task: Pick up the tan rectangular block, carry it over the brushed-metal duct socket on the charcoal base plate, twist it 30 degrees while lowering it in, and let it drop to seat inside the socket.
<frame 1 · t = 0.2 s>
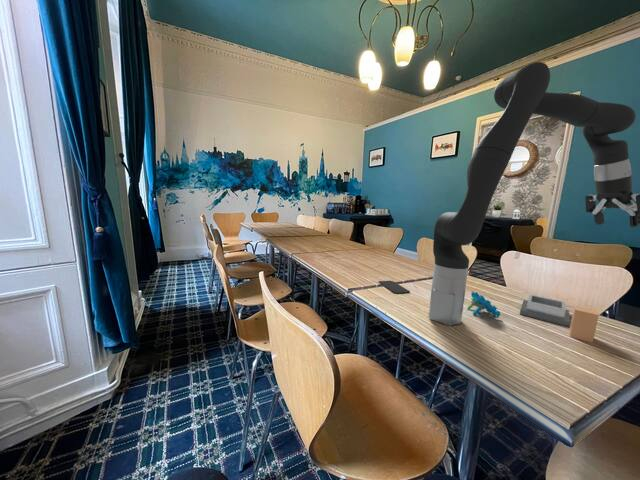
hand: (616, 225, 81), 31 cm above the table, tool tilted 20°, fingers open, 8 cm apart
blue toy figure: (482, 314, 83), on the table
duct socket: (543, 314, 85), on the table
phone: (393, 288, 107), on the table
tan rectangular block: (580, 336, 71), on the table
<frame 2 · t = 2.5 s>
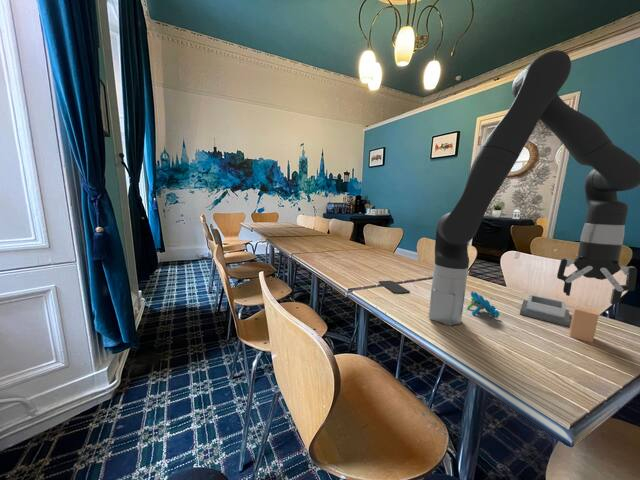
hand: (589, 299, 69), 11 cm above the table, tool pointing down, fingers open, 8 cm apart
nothing on the table moved.
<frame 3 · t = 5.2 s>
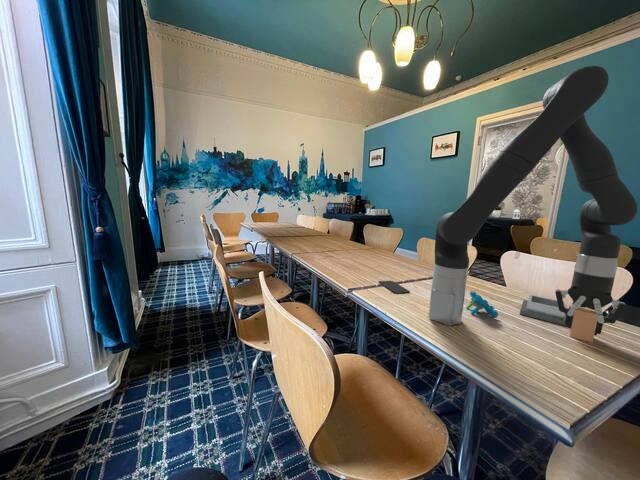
hand: (581, 330, 71), 2 cm above the table, tool pointing down, fingers closed on tan rectangular block, 4 cm apart
tan rectangular block: (580, 336, 71), on the table, touching gripper
everything else where it was.
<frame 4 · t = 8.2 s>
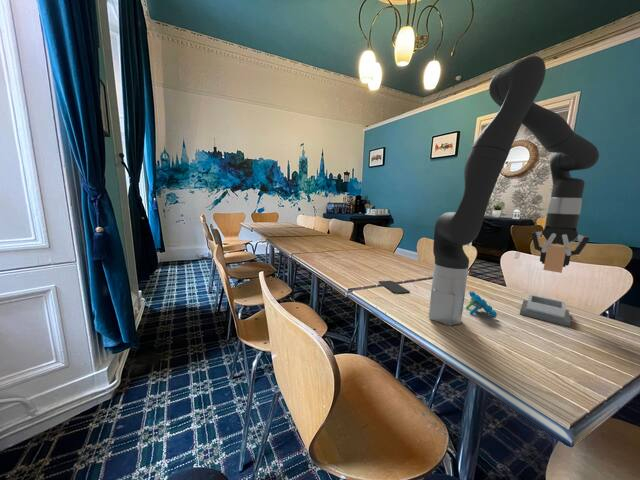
hand: (553, 264, 82), 17 cm above the table, tool pointing down, fingers closed on tan rectangular block, 4 cm apart
tan rectangular block: (552, 270, 82), point 15 cm above the table, touching gripper
everything else where it was.
when the fingers open (5 cm above the table, at t = 11.4 s): tan rectangular block drops 2 cm, resting on duct socket.
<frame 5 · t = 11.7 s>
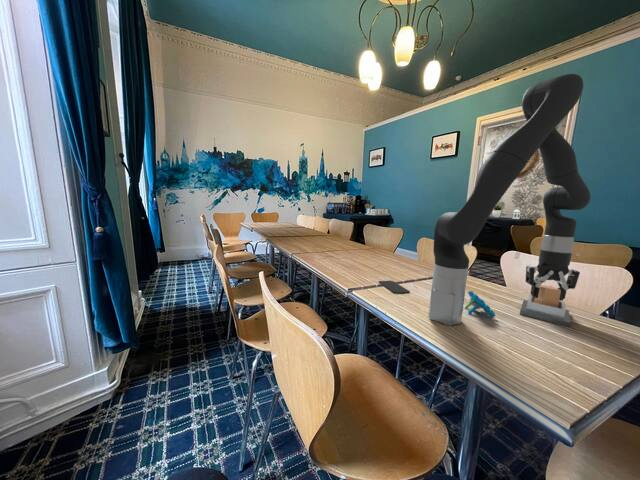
hand: (546, 298, 84), 6 cm above the table, tool pointing down, fingers open, 6 cm apart
tan rectangular block: (544, 310, 85), point 1 cm above the table, touching duct socket
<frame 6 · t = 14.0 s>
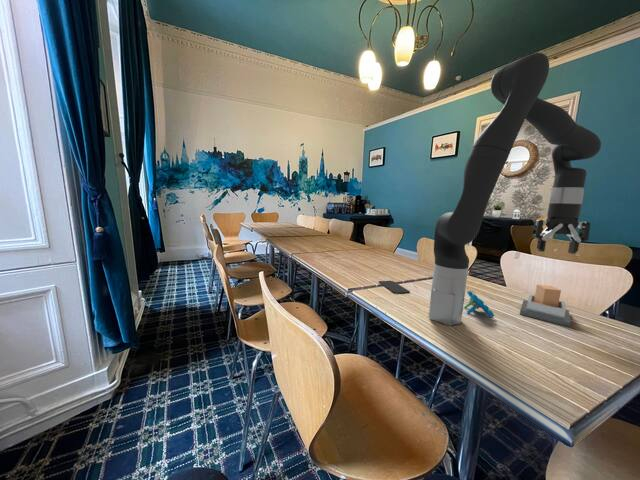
hand: (556, 252, 83), 21 cm above the table, tool pointing down, fingers open, 8 cm apart
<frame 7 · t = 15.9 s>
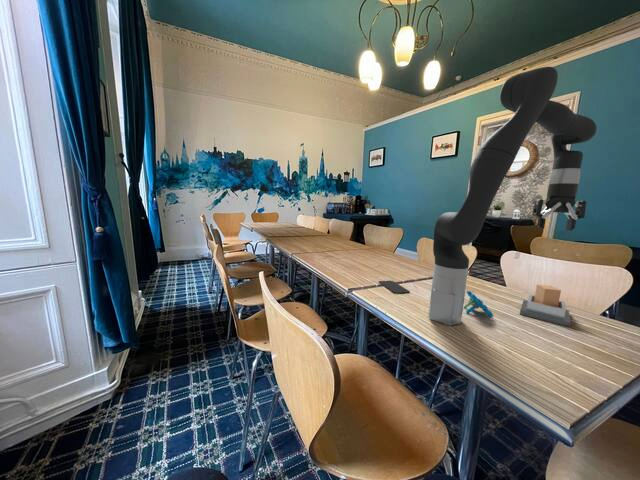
hand: (554, 229, 89), 28 cm above the table, tool pointing down, fingers open, 8 cm apart
at the end: tan rectangular block 0.1 cm from the duct socket (horizontally); tan rectangular block point 1.5 cm above the table; tan rectangular block tilted 0° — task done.
